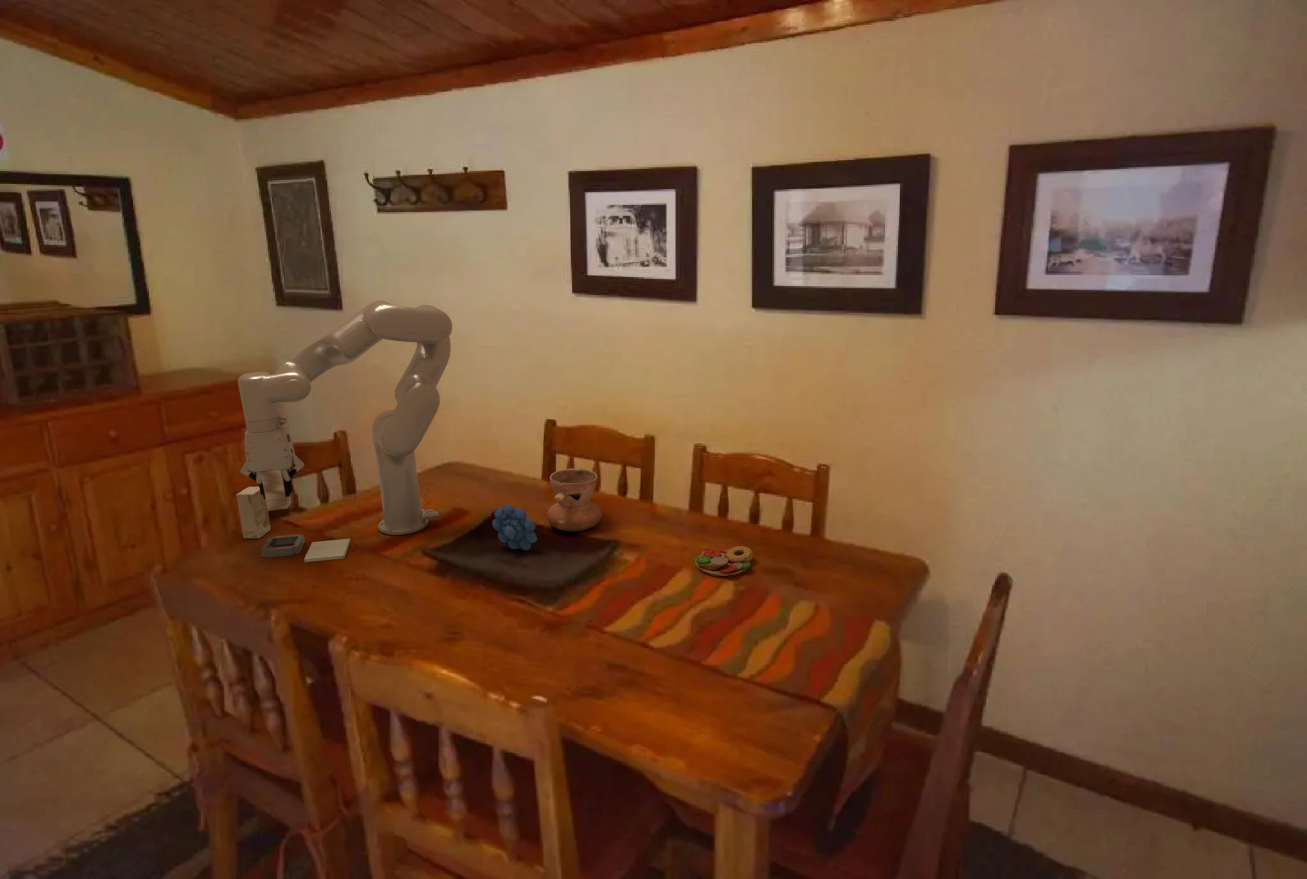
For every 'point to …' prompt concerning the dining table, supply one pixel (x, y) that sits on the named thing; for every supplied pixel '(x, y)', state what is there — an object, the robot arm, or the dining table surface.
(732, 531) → the dining table surface
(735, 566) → the toy food set
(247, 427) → the robot arm
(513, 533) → the blue flower
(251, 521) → the skincare box
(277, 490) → the square peg
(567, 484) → the ceramic jug
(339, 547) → the coaster
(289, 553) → the frame
